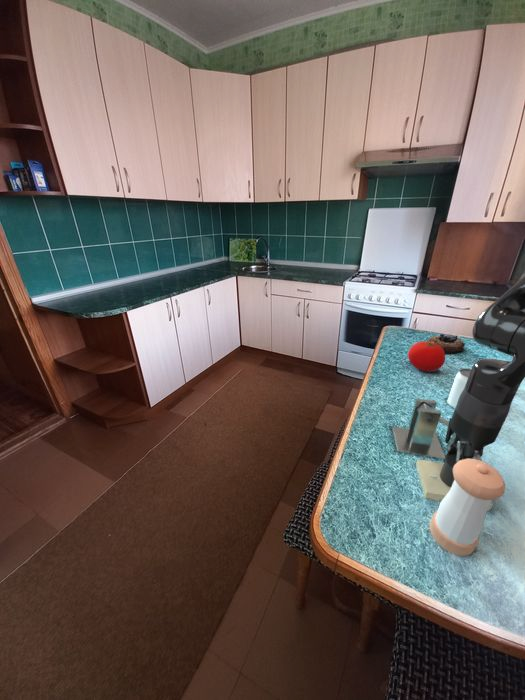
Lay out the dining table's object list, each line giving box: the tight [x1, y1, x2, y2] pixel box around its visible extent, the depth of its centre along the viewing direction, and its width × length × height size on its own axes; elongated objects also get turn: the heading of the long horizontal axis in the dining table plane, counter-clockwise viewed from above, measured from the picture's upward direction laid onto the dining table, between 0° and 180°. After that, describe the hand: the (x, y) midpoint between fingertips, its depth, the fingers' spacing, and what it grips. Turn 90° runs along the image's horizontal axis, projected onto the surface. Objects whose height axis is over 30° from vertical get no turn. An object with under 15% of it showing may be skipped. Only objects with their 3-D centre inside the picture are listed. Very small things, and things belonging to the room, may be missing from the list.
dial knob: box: [440, 455, 464, 487], centre depth 61 cm, size 5×5×5 cm
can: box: [446, 368, 472, 409], centre depth 87 cm, size 6×6×12 cm
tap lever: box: [417, 403, 449, 428], centre depth 71 cm, size 13×3×3 cm, turn 77°
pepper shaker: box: [429, 459, 506, 557], centre depth 50 cm, size 7×7×19 cm
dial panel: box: [415, 458, 494, 512], centre depth 63 cm, size 12×9×3 cm
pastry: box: [427, 333, 466, 355], centre depth 123 cm, size 11×12×6 cm
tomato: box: [407, 340, 446, 372], centre depth 108 cm, size 11×12×10 cm
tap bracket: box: [392, 398, 446, 460], centre depth 73 cm, size 11×9×13 cm
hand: (453, 475), depth 62 cm, fingers closed on dial knob, 5 cm apart
